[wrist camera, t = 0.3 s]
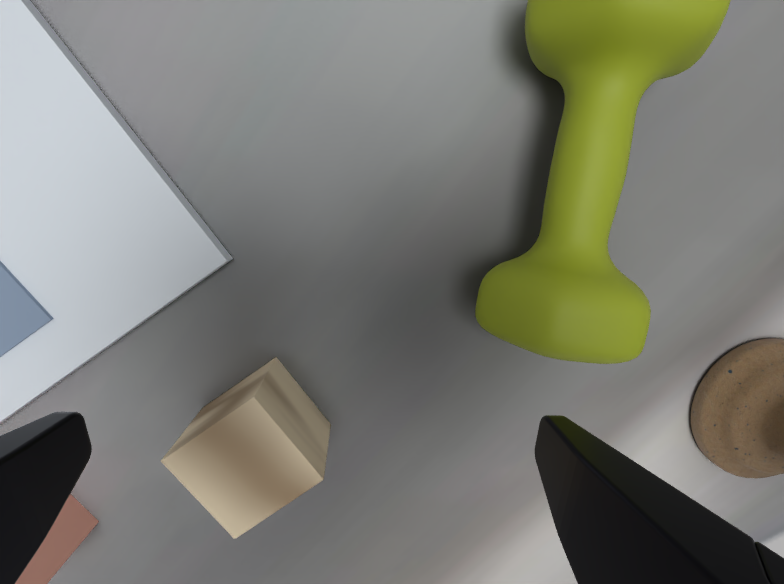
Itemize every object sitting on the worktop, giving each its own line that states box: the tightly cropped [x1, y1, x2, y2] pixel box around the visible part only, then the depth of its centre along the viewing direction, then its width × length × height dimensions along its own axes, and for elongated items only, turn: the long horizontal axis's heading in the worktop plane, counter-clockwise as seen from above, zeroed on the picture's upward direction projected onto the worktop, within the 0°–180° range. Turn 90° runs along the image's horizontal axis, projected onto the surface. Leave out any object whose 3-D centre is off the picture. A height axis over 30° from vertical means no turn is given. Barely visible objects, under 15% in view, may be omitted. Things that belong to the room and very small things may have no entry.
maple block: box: [161, 357, 331, 539], centre depth 21 cm, size 5×5×5 cm
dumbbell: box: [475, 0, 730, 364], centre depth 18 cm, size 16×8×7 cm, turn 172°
